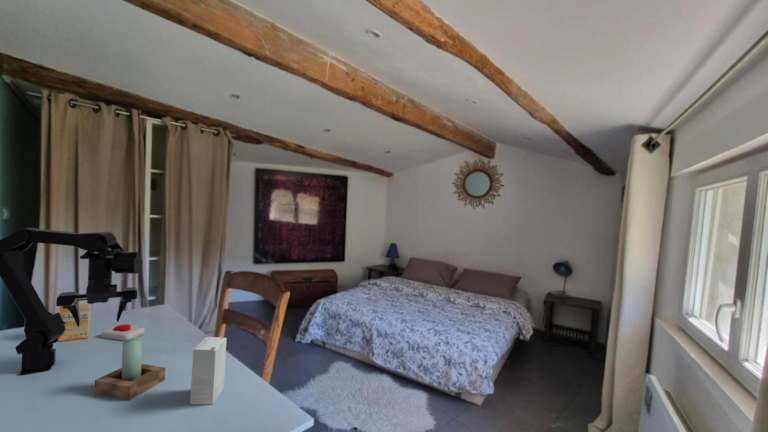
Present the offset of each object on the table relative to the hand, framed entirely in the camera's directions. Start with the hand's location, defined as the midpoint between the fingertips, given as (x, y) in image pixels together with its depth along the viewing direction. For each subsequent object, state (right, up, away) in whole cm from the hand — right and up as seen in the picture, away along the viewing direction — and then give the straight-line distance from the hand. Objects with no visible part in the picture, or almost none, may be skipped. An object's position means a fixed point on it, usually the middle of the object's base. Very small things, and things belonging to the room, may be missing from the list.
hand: (98, 323), depth 106 cm
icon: (-10, -13, +25) cm, 30 cm away
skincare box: (+40, -16, -13) cm, 45 cm away
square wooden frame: (+17, -14, -10) cm, 24 cm away
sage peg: (+17, -14, -10) cm, 24 cm away
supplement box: (-25, -11, +20) cm, 34 cm away
